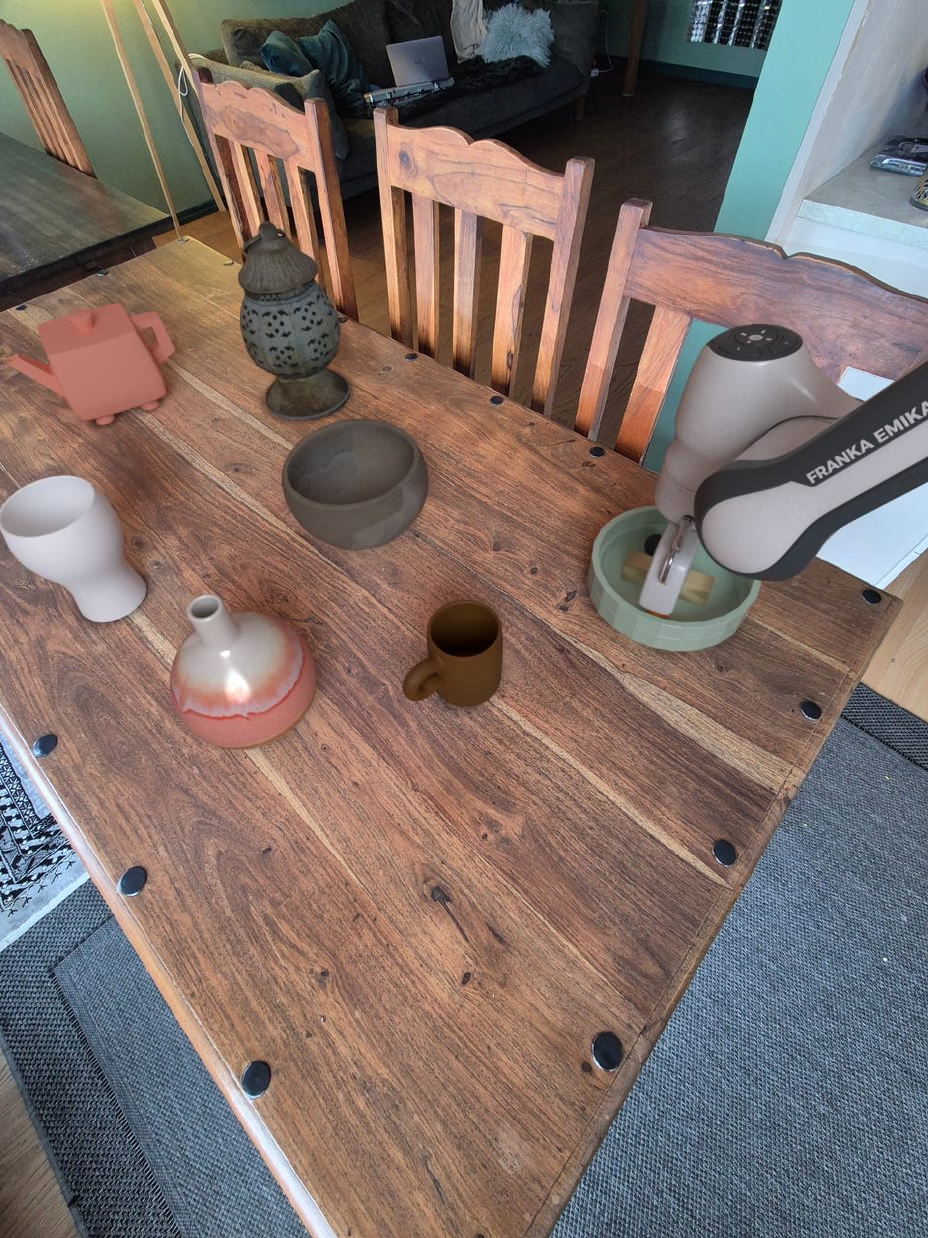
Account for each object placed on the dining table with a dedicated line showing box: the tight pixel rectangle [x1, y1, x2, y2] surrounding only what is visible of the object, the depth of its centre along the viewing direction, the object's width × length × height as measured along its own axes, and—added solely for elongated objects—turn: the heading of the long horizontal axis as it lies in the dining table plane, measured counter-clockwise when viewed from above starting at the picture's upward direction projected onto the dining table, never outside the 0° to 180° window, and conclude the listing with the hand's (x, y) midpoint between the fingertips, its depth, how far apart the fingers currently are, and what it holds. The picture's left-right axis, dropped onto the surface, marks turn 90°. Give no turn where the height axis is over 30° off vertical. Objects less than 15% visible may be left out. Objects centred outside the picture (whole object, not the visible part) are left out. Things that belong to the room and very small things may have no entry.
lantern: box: [237, 220, 351, 422], centre depth 92 cm, size 14×14×25 cm
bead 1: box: [644, 534, 662, 557], centre depth 78 cm, size 3×3×3 cm
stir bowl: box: [586, 504, 762, 652], centre depth 74 cm, size 19×19×5 cm
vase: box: [169, 593, 318, 751], centre depth 61 cm, size 14×14×18 cm
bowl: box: [281, 418, 429, 551], centre depth 81 cm, size 17×18×10 cm
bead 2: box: [645, 609, 669, 620], centre depth 71 cm, size 3×3×3 cm
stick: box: [621, 550, 715, 607], centre depth 75 cm, size 10×2×3 cm, turn 63°
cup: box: [0, 474, 147, 623], centre depth 71 cm, size 11×11×15 cm
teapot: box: [5, 302, 176, 426], centre depth 96 cm, size 22×13×14 cm, turn 121°
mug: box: [401, 599, 504, 708], centre depth 65 cm, size 12×8×9 cm, turn 136°
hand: (669, 578), depth 75 cm, fingers open, 8 cm apart
